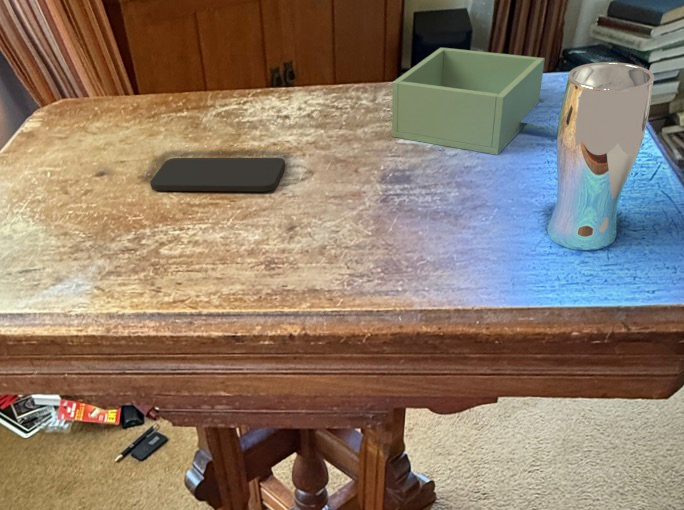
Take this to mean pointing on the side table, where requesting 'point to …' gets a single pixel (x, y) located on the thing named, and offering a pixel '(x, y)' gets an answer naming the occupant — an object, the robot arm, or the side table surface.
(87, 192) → the side table surface
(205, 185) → the phone
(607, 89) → the beer glass
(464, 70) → the bin
